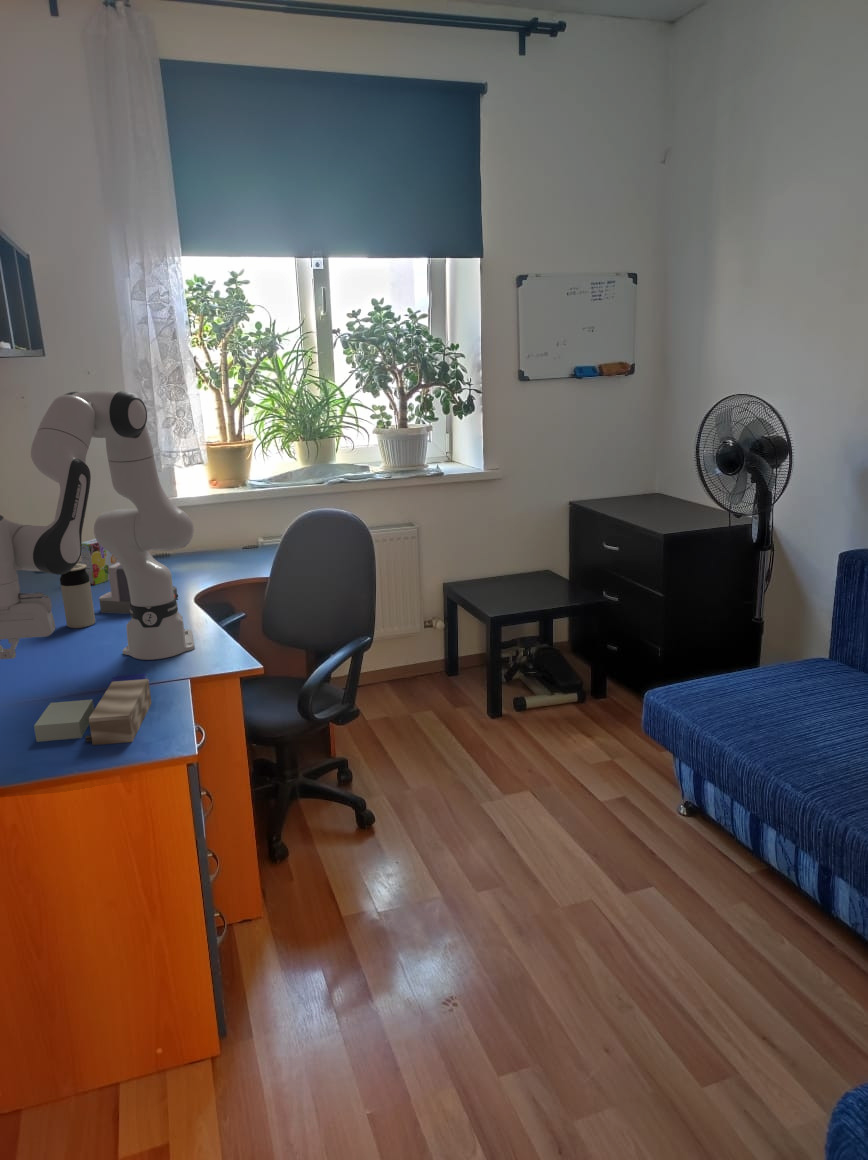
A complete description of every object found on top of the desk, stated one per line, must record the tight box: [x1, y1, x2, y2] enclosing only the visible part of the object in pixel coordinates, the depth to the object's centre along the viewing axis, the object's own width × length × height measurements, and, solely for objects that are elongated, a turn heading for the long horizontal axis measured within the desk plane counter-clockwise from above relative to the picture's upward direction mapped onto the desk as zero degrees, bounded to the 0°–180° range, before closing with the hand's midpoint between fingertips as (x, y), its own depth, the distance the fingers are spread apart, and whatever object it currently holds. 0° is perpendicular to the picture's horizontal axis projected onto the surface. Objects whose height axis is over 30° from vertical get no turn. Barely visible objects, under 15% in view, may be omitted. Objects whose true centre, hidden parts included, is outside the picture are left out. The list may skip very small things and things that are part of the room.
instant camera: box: [98, 562, 179, 615], centre depth 271 cm, size 21×21×15 cm
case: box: [33, 699, 95, 743], centre depth 183 cm, size 12×9×4 cm
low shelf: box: [85, 678, 152, 746], centre depth 184 cm, size 20×10×6 cm, turn 7°
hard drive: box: [107, 673, 148, 689], centre depth 205 cm, size 2×8×12 cm
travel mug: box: [59, 563, 96, 629], centre depth 251 cm, size 8×8×18 cm
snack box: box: [80, 538, 118, 586], centre depth 305 cm, size 21×6×15 cm, turn 154°
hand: (7, 658), depth 178 cm, fingers closed
